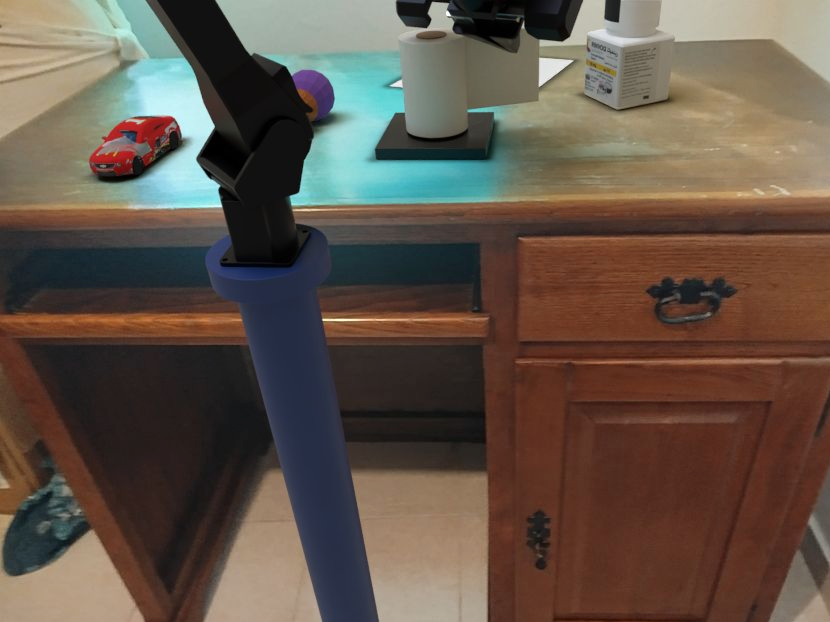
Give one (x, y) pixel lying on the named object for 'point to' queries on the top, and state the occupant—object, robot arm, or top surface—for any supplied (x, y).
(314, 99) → the kendama
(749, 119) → the top surface
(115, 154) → the race car
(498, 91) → the towel roll
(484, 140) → the holder
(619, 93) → the container
